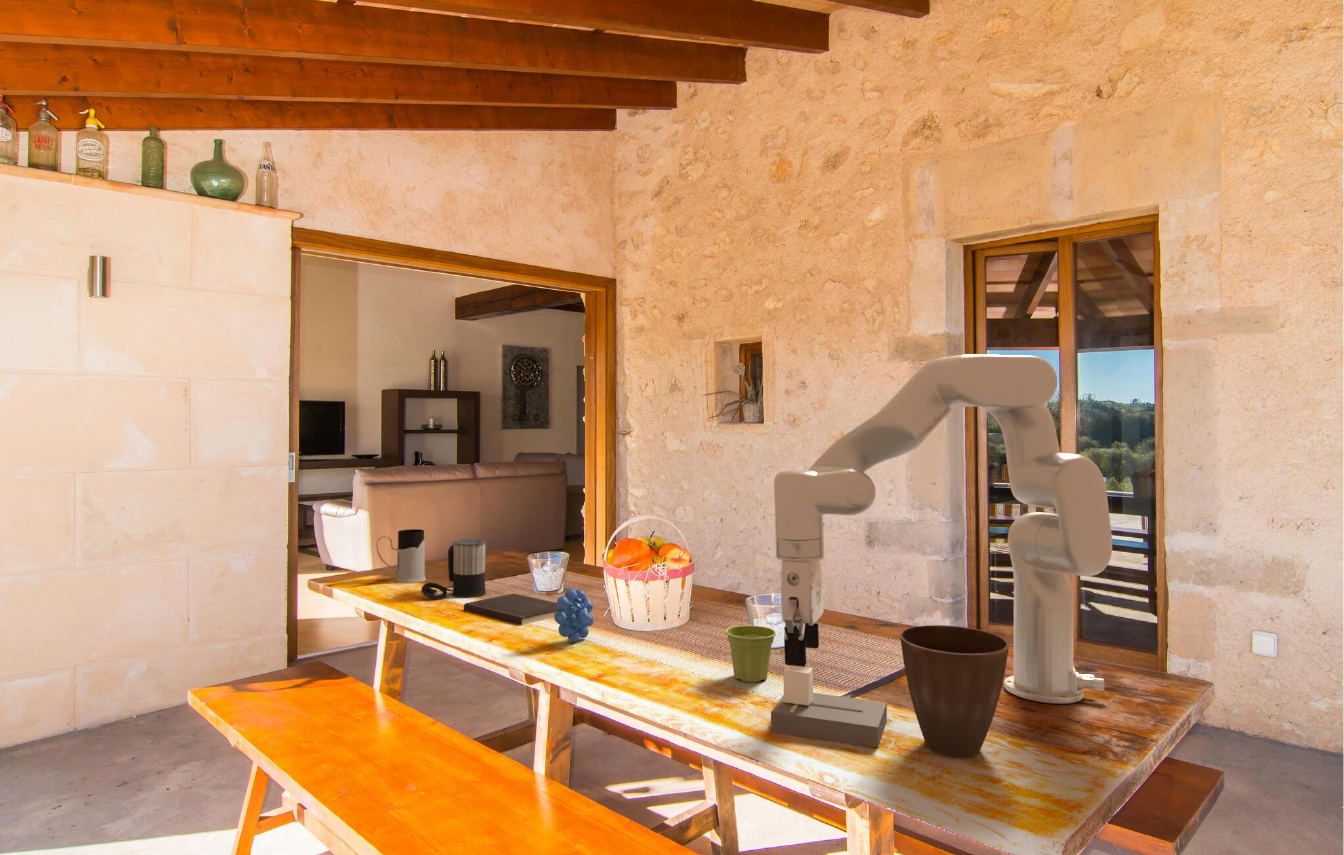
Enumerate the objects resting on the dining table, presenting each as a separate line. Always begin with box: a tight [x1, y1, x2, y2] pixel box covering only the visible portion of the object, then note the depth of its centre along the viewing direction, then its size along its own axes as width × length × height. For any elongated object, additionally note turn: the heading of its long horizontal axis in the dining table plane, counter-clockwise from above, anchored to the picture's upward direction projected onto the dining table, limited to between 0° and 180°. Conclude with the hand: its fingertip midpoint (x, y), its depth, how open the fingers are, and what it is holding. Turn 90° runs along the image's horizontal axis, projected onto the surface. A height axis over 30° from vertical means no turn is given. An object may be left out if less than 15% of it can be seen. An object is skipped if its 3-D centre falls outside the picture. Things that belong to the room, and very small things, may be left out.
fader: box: [783, 665, 814, 706], centre depth 122 cm, size 4×3×5 cm
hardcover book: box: [463, 593, 561, 626], centre depth 195 cm, size 16×23×2 cm
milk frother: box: [420, 538, 488, 600], centre depth 213 cm, size 14×16×15 cm
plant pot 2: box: [899, 624, 1010, 759], centre depth 113 cm, size 15×15×16 cm
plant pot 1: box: [725, 625, 777, 683], centre depth 144 cm, size 9×9×9 cm
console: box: [770, 692, 888, 749], centre depth 120 cm, size 16×11×3 cm
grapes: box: [553, 587, 595, 643], centre depth 167 cm, size 12×7×12 cm, turn 145°
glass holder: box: [375, 528, 427, 584], centre depth 233 cm, size 9×14×15 cm, turn 108°
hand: (802, 655), depth 123 cm, fingers open, 9 cm apart
